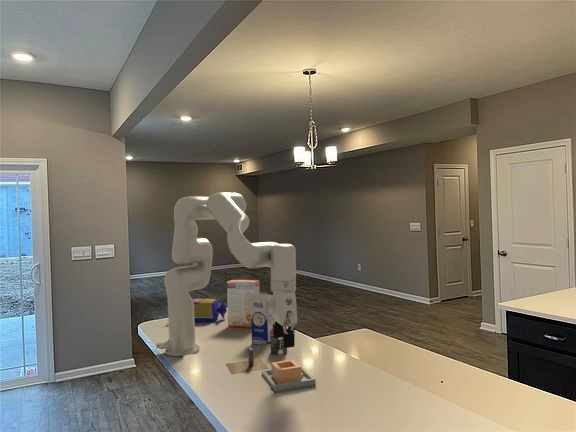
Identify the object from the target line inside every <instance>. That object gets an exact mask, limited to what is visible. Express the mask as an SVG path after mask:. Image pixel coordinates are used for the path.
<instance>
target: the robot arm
mask: <svg viewBox="0 0 576 432" xmlns="http://www.w3.org/2000/svg"><path fill="white" fill-rule="evenodd" d="M246 210H247V201H246V199H245V198H244V196H243V195H242V194H240V193H237V192H223V191H221V192H220V191H219V192H214V193H211V194H210V195H209V196H203V195H192V196H191V195H189V196H183V197H181V198H179V199H178V200H177V201H176V203H175V205H174V208H173V220H174V231H173V239H172V247H171V258H172V261H173V262H174V263H175V264H177V265H182V266H177V267H173V268H171V269H169V270H168V271H167V272H166V273H165V275H164V278H163V279H164V286H165V291H166V292H165V293H166V297H167V309H168V310H167V313H168V315H167V316H168V318H167V319H168V338H167V340H165V341H164V342H156V343H155V345H156V347H155V348H156V349H160V350H164V354H165V355H167V356H170V357H183V356H187V355H188V356H190V355H193V354H195V353H197V352H198V353H199V351H200V345H199V344H197V343H196V331H195V330H196V327H195V325H196V322H195V320H194V302H193V299H194V298H193V297H192V296H191V295H190V293H189V292H191V291H192V292H193V291H196V290H202V289H204V288H206V287H207V286H208V284H209V282H210V278H211V272H212V264H213V257H214V256H213V255H214V250H213V245H212V243H211V242H210V240H208V239H207V238H205V237H198V233H199V228H198V225H197V222H196V221H199V220H200V221H201V220H203V221H204V220H205V221H206V220H209V221H211V220H216V222H218V223H219V225H220V226H221V227H222V228H223V229H224V230H225V232H226V233H227V239H226V240H227V245H228V246H227V247H228V249H229V251H230V253H231V254H232V255H233V256H234V257H235V259H236V260H237V261H238V262H239V263H240V264H241V265H242V266H244V268H248V269H258V268H264V267H270V291H271V292H272V296H273V304H272V312H273V319H274V320H273V324H274V325H273V337H274V338H280V337H284V348H287V349H289V348H295V342H296V341H295V336H296V335H295V333H296V331H295V329H296V325H298V312H297V311H298V310H297V309H298V308H297V297H296V290H297V270H296V269H297V268H296V267H297V266H296V265H297V263H296V261H297V255H296V252H297V249H296V247H295V245H293V244H291V243H278V242H274V241H263V242H262V241H261V242H252V243H251V242H250V241H249V240H248V239H247V238H246V236H245V235H244V233H245V231H246V230H248V228H249V226H250V218H249V216H248V215H247V214H246V213H245V212H246ZM191 264H193V265H191ZM183 265H185V266H183ZM284 332H285V334H284Z"/></svg>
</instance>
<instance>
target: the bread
mask: <svg viewBox="0 0 576 432" xmlns="http://www.w3.org/2000/svg"><path fill="white" fill-rule="evenodd" d="M192 299H193V302H194V320H195V323H214V322H215V321H216V320H217V319H218V318H219V315H220V316H221V317H222V319H223V320H224V321H225V320H226V319H225V314H226V312H227V313H228V308H227V307H226V305H225V304H224V303H225V300H226V299H223V301H222V302H221V304H220V306H219V304H218V303H219V301H218V299H216V298H192Z"/></svg>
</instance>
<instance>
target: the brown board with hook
mask: <svg viewBox="0 0 576 432" xmlns="http://www.w3.org/2000/svg"><path fill="white" fill-rule="evenodd" d="M247 350H248V353H247V354H248V360H243V361H237V362H235V361H234V362H230V363H229V362H228V363H225V365H226V367H227V369H228V370H229V372H230V374H231V375H235V374H236V375H237V374H243V373H250V372H256V371H264V370H270V369H269V367H268V366H267V365H266V363H265V362H264V361H263V360H262V359H261V358H256V359H255V358H254V349H253V348H252V346H250V347H247Z"/></svg>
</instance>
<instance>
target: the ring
mask: <svg viewBox="0 0 576 432" xmlns="http://www.w3.org/2000/svg"><path fill="white" fill-rule="evenodd" d="M270 365H271V367H270V369H272V374H271V378H272V379H273V381H274V382H275V383H277V384H283V383H289V382H294V381H300V380H302V378H304V374H303V373H302V372H301V366H302V365H301V366H300V364H299V363H297V362H296V361H295V360H294V359H288V360H280V361H274V362H273V361H272V362H271V363H270Z"/></svg>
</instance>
